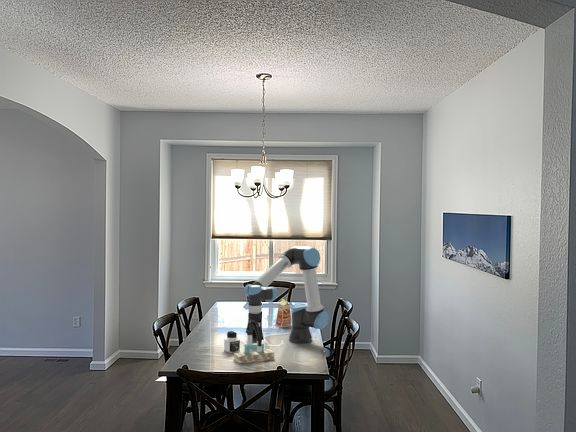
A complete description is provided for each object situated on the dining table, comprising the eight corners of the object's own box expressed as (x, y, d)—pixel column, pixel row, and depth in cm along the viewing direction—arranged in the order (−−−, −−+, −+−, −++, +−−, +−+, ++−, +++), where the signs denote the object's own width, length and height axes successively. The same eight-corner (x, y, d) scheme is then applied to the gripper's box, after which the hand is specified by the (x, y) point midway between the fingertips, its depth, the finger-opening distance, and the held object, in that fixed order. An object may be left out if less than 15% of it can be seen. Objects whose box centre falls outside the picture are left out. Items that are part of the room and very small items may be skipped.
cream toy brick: (268, 355, 324) (268, 349, 324) (274, 359, 316) (274, 352, 316) (233, 360, 314) (234, 353, 314) (239, 363, 306) (239, 356, 306)
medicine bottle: (229, 353, 328) (229, 333, 328) (223, 350, 334) (224, 331, 334) (239, 351, 333) (240, 331, 332) (233, 348, 338) (234, 329, 338)
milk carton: (275, 325, 407) (275, 298, 407) (285, 324, 413) (285, 297, 412) (282, 327, 400) (282, 300, 400) (292, 326, 405) (292, 299, 405)
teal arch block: (261, 357, 319) (261, 342, 319) (263, 358, 316) (264, 343, 316) (244, 359, 314) (244, 344, 314) (246, 360, 311) (246, 345, 311)
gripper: (240, 309, 324) (240, 344, 324) (257, 316, 302) (257, 354, 302) (252, 308, 327) (251, 343, 328) (269, 315, 305) (269, 353, 306)
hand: (254, 348), depth 315 cm, fingers open, 13 cm apart
